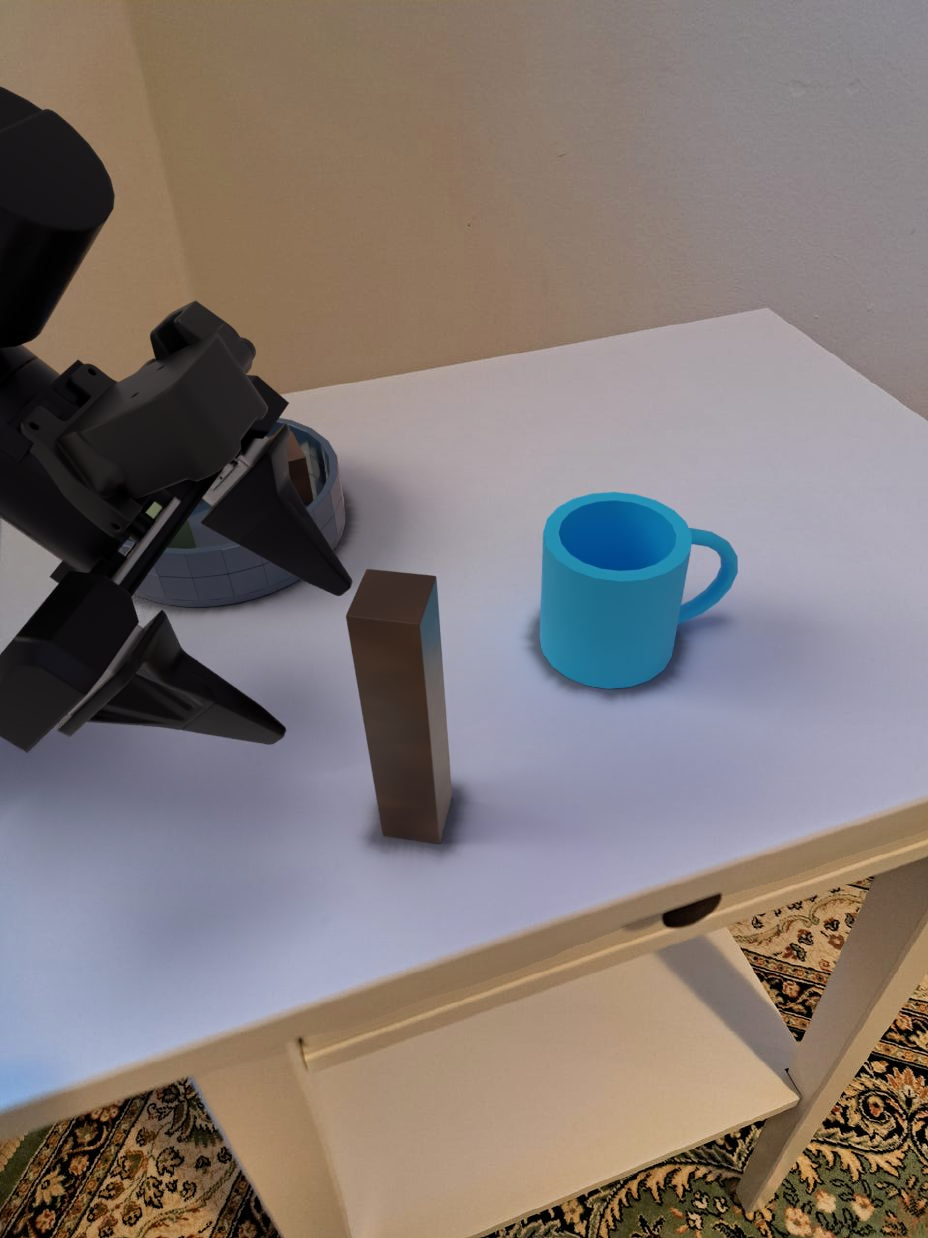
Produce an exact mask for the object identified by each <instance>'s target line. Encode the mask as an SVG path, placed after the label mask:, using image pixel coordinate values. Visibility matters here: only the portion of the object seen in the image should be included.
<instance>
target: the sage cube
mask: <svg viewBox="0 0 928 1238" xmlns="http://www.w3.org/2000/svg"><path fill="white" fill-rule="evenodd" d="M160 509H161V506H160V505H158V504H157V503H156V502H154V503H153V504H152V506H151V507H150V508H149V509H148V510H147V512H146V513H147V514H148V515H150V516H151V517H152V518H154V516H155V515H156V514H157V512H158V511H159V510H160ZM128 540H129V541H133V540H131V539H130V538H128ZM133 542H134V541H133ZM167 548H182V549H190V548H197V547H196V544H195V541H194V538H193V534H192V531H191V528H190V524H189V521H188V519H187V520H186V522H185V523H184V525H183V526H182V527H181V529H180V530H179V532H178V533H177V534H176V536H175V537H174V539H173V540H172V541H171V543H170V544H169V546H168V547H167Z"/></svg>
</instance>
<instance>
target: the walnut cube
mask: <svg viewBox="0 0 928 1238" xmlns="http://www.w3.org/2000/svg"><path fill="white" fill-rule="evenodd" d="M290 433H291V435H290V437H289V439H288V442H287V451H288V465H289V476H290V479H291V482H292V484H293V485H294V487H295V489H296V491H297V493H298V495H299V497H300V498H301V500H302V502H303V504H304V505H308V504H311V503H312V501H313V494H312V488H311V483H310V477H309V472H308V466H307V461H306V457H305V455H304V453H303V451H302V449H301V447H300V445H299V444H298V442H297V440H296V438H295V436H294V434H293V432H292V431H290ZM273 436H274V435H273ZM273 436H269V437H267V438H269V439H271V438H272V437H273Z"/></svg>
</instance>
